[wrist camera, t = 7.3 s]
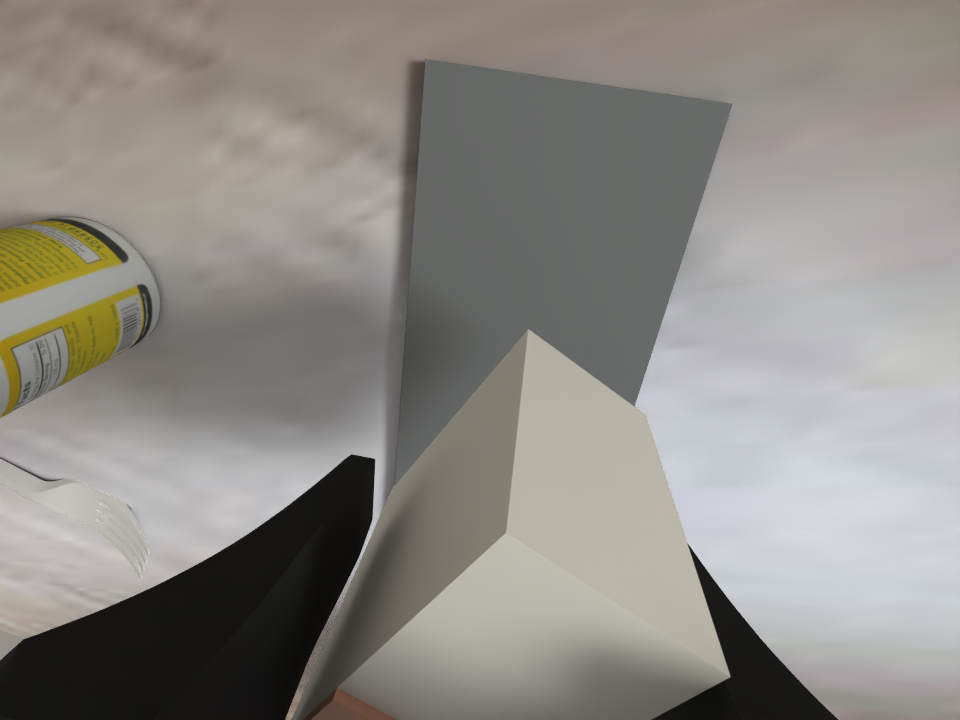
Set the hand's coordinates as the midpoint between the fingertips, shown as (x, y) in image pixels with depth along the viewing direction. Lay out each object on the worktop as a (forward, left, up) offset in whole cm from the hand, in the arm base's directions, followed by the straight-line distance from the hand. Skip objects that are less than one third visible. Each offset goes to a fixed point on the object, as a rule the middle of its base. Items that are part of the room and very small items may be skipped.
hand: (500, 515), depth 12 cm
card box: (0, 0, -2) cm, 2 cm away
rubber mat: (0, 0, -8) cm, 8 cm away
